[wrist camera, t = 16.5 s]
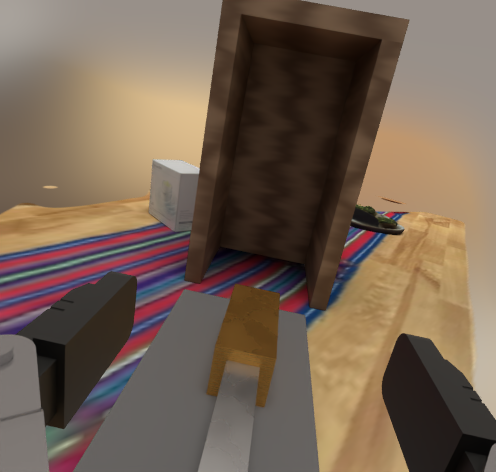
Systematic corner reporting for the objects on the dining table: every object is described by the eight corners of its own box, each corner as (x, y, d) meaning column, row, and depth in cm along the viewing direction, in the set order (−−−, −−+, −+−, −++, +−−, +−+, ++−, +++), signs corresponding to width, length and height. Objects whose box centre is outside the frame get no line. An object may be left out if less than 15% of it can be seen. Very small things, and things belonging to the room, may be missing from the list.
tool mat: (26, 561, 16) (26, 547, 16) (183, 296, 41) (184, 289, 41) (327, 638, 16) (333, 625, 15) (303, 322, 40) (305, 315, 40)
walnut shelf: (184, 280, 45) (224, -13, 35) (210, 240, 60) (243, 27, 50) (325, 310, 44) (409, 19, 34) (315, 262, 59) (371, 51, 49)
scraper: (245, 626, 15) (266, 558, 14) (144, 599, 15) (154, 531, 14) (270, 331, 36) (279, 293, 34) (228, 322, 36) (235, 283, 35)
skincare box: (146, 213, 67) (151, 157, 64) (176, 211, 72) (182, 159, 68) (173, 232, 60) (180, 171, 57) (204, 230, 64) (213, 172, 61)
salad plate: (322, 207, 103) (326, 191, 102) (381, 217, 104) (386, 202, 103) (338, 227, 85) (343, 208, 83) (410, 239, 86) (416, 221, 84)
